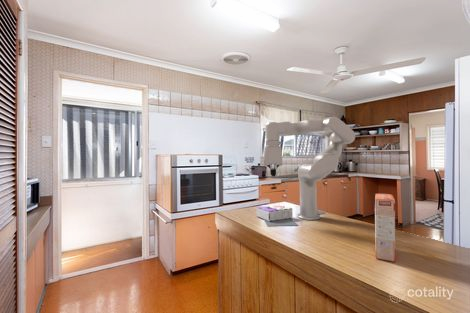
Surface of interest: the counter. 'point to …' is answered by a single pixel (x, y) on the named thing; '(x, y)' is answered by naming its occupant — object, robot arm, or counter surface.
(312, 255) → the counter surface
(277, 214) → the candy box
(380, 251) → the cracker box
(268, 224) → the mat
